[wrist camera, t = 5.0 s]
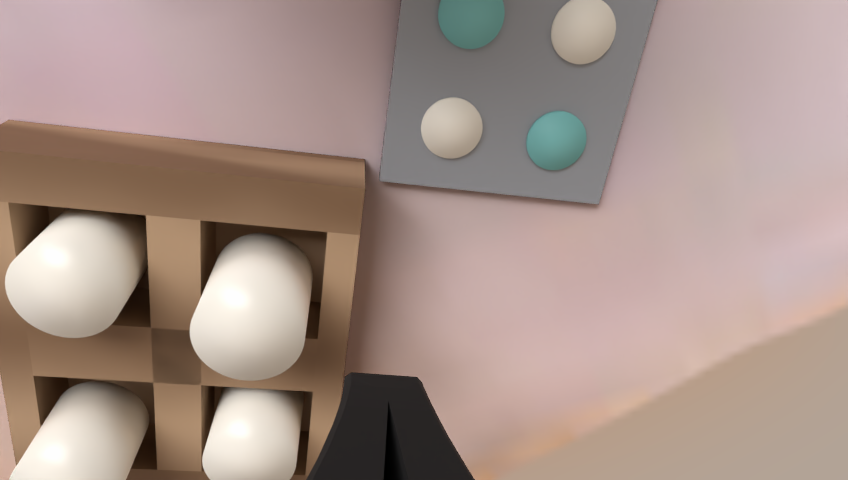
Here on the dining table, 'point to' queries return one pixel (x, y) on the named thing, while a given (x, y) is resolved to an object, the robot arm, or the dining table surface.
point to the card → (512, 94)
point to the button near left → (79, 272)
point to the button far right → (254, 435)
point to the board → (175, 276)
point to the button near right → (254, 308)
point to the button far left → (87, 436)
